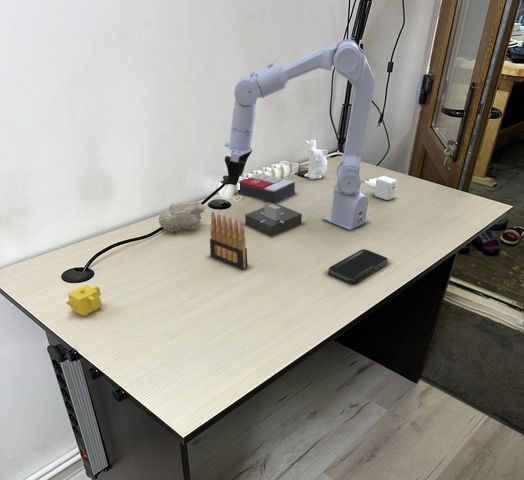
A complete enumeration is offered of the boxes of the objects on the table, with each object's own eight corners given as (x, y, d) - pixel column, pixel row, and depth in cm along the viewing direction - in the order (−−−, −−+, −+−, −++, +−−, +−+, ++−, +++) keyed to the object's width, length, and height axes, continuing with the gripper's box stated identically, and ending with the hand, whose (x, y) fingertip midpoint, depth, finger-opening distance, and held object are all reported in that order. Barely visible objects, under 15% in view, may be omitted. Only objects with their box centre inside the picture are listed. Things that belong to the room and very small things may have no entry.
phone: (326, 269, 118) (363, 248, 126) (326, 273, 119) (363, 252, 127) (353, 281, 114) (390, 258, 122) (352, 285, 114) (389, 262, 123)
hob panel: (303, 224, 140) (303, 214, 138) (271, 238, 133) (272, 227, 131) (275, 212, 146) (275, 202, 144) (244, 225, 140) (243, 214, 138)
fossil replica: (154, 228, 138) (174, 244, 132) (150, 201, 132) (171, 216, 127) (190, 214, 143) (211, 228, 138) (187, 187, 137) (209, 200, 132)
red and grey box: (258, 171, 163) (295, 179, 155) (258, 184, 165) (295, 193, 158) (236, 181, 156) (273, 189, 148) (237, 194, 159) (274, 204, 151)
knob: (280, 219, 136) (280, 206, 133) (275, 221, 135) (276, 208, 132) (268, 214, 138) (268, 201, 136) (264, 216, 137) (264, 203, 135)
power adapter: (358, 192, 159) (360, 173, 156) (367, 188, 162) (369, 170, 158) (387, 202, 153) (390, 183, 150) (396, 197, 156) (399, 179, 152)
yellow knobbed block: (80, 324, 102) (75, 303, 99) (64, 314, 105) (57, 294, 101) (112, 307, 107) (107, 287, 104) (95, 298, 110) (90, 278, 106)
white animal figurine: (298, 177, 170) (300, 140, 162) (310, 172, 174) (312, 136, 166) (318, 183, 165) (321, 145, 158) (330, 178, 169) (333, 141, 162)
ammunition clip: (247, 267, 121) (247, 220, 114) (242, 270, 120) (242, 223, 112) (215, 254, 126) (212, 209, 119) (210, 256, 125) (207, 211, 117)
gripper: (232, 118, 135) (226, 167, 144) (221, 133, 124) (215, 185, 133) (257, 124, 135) (250, 172, 144) (249, 139, 124) (241, 191, 133)
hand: (235, 179), depth 138 cm, fingers open, 7 cm apart
